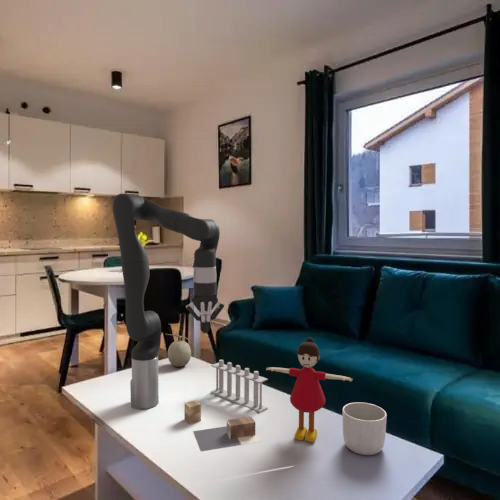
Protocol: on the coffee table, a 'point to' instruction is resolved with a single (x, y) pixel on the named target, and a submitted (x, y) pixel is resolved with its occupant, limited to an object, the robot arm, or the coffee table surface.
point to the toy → (307, 387)
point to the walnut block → (240, 427)
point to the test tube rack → (239, 373)
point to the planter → (364, 427)
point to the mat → (220, 439)
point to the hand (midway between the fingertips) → (205, 332)
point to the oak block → (192, 411)
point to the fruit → (179, 352)
